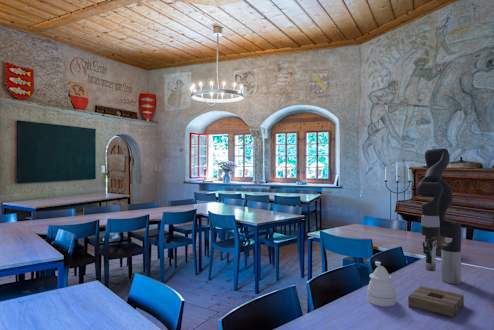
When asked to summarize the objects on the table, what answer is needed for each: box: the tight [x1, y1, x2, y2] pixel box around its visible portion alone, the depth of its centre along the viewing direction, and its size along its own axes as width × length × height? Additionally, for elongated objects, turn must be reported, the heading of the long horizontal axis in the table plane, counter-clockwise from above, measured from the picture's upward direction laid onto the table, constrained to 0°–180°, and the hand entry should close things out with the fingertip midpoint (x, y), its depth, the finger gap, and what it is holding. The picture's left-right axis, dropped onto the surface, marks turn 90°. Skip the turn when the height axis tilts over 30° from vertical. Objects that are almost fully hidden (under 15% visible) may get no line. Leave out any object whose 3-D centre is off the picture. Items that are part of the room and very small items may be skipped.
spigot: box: [425, 246, 437, 272], centre depth 159 cm, size 4×4×11 cm
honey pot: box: [366, 261, 397, 307], centre depth 164 cm, size 13×13×18 cm
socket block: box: [407, 285, 465, 320], centre depth 156 cm, size 18×18×5 cm
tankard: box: [422, 235, 448, 257], centre depth 251 cm, size 24×17×20 cm
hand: (430, 262), depth 159 cm, fingers closed on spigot, 4 cm apart
